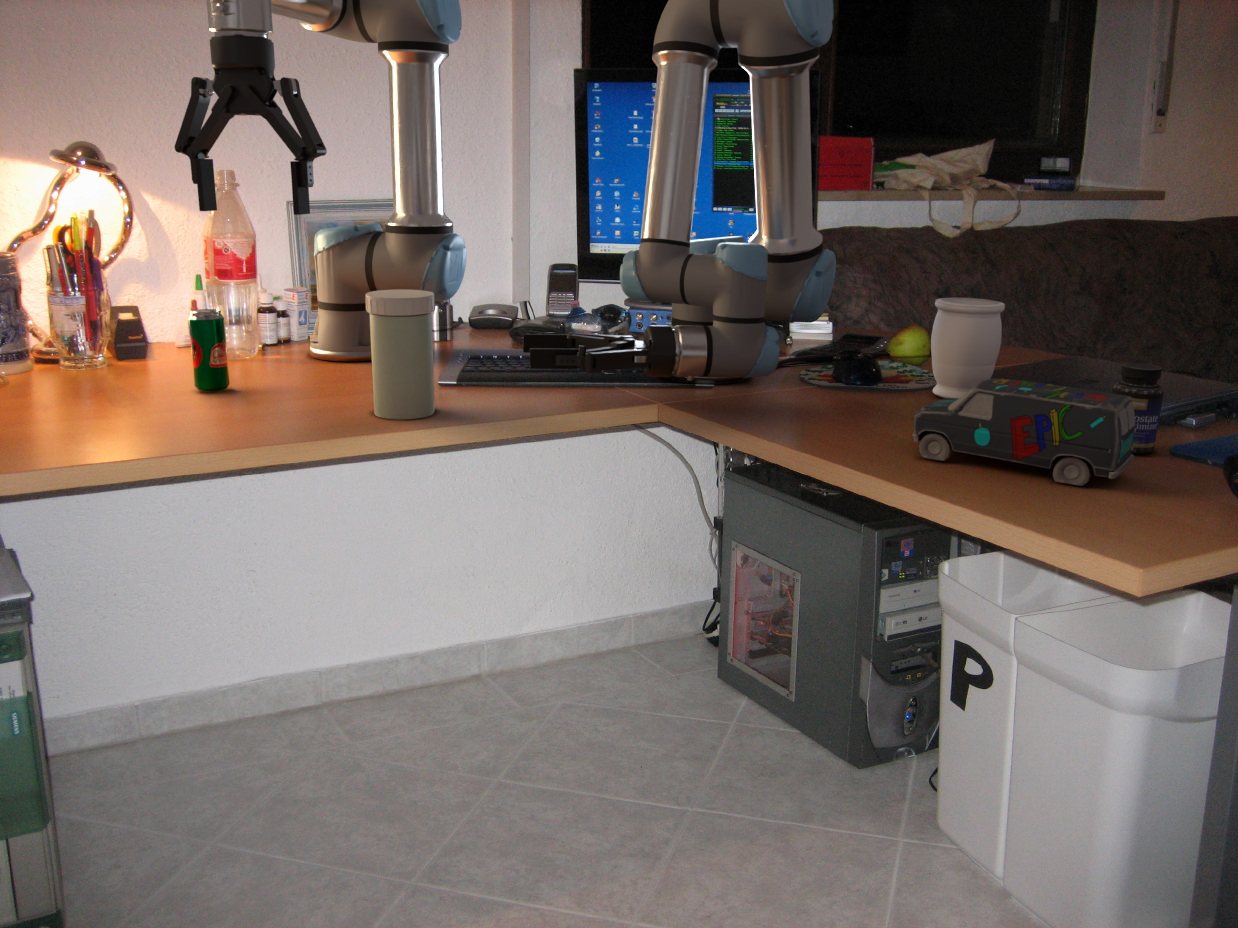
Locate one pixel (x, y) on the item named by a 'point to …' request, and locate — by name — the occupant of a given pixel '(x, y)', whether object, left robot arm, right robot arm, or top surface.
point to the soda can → (209, 350)
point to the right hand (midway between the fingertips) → (526, 350)
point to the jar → (964, 343)
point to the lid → (400, 302)
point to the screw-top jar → (402, 366)
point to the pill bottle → (1142, 401)
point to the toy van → (1033, 428)
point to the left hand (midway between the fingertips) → (254, 213)
